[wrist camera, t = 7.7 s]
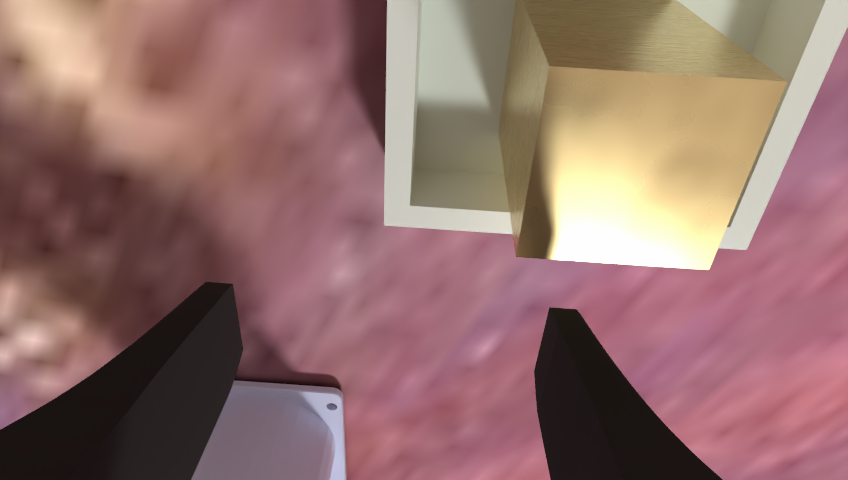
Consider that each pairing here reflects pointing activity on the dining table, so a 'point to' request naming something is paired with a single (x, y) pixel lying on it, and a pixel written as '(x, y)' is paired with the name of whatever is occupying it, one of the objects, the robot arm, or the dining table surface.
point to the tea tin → (627, 131)
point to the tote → (484, 86)
